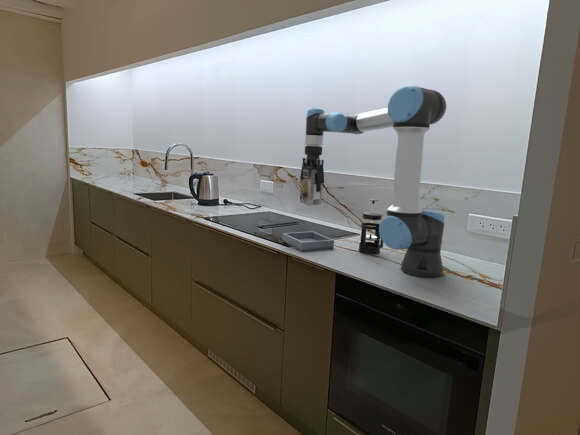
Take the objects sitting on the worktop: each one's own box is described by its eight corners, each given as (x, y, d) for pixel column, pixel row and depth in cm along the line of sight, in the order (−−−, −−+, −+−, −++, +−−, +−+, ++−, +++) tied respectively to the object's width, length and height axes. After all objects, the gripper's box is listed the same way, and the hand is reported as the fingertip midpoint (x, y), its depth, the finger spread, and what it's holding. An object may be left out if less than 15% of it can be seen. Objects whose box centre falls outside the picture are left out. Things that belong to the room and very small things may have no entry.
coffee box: (299, 202, 183) (301, 166, 180) (311, 202, 185) (314, 166, 182) (308, 205, 174) (310, 167, 172) (321, 205, 177) (324, 167, 174)
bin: (333, 248, 179) (334, 240, 178) (301, 251, 172) (302, 242, 171) (312, 239, 195) (312, 231, 194) (282, 241, 187) (282, 233, 186)
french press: (352, 250, 179) (356, 198, 174) (366, 247, 185) (370, 197, 181) (374, 256, 170) (379, 201, 166) (387, 253, 176) (392, 200, 172)
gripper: (335, 146, 168) (331, 201, 172) (308, 145, 187) (305, 194, 191) (319, 146, 164) (316, 201, 168) (294, 144, 183) (291, 194, 187)
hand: (310, 197), depth 179 cm, fingers closed on coffee box, 9 cm apart
